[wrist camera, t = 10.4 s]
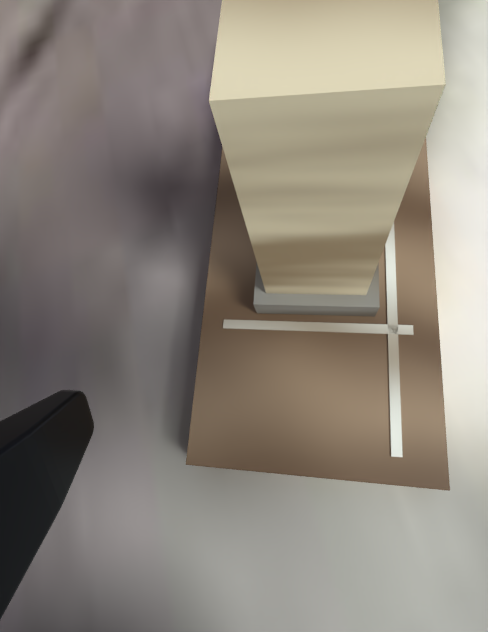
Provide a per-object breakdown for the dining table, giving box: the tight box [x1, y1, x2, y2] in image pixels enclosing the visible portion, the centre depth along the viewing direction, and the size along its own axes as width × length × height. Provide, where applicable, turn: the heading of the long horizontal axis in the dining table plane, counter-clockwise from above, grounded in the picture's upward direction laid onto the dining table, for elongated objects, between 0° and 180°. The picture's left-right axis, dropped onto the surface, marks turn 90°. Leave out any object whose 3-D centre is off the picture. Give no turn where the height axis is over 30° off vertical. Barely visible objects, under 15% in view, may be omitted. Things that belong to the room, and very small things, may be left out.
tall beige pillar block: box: [209, 0, 446, 317], centre depth 13 cm, size 5×5×11 cm
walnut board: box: [186, 138, 450, 491], centre depth 19 cm, size 24×10×2 cm, turn 175°
